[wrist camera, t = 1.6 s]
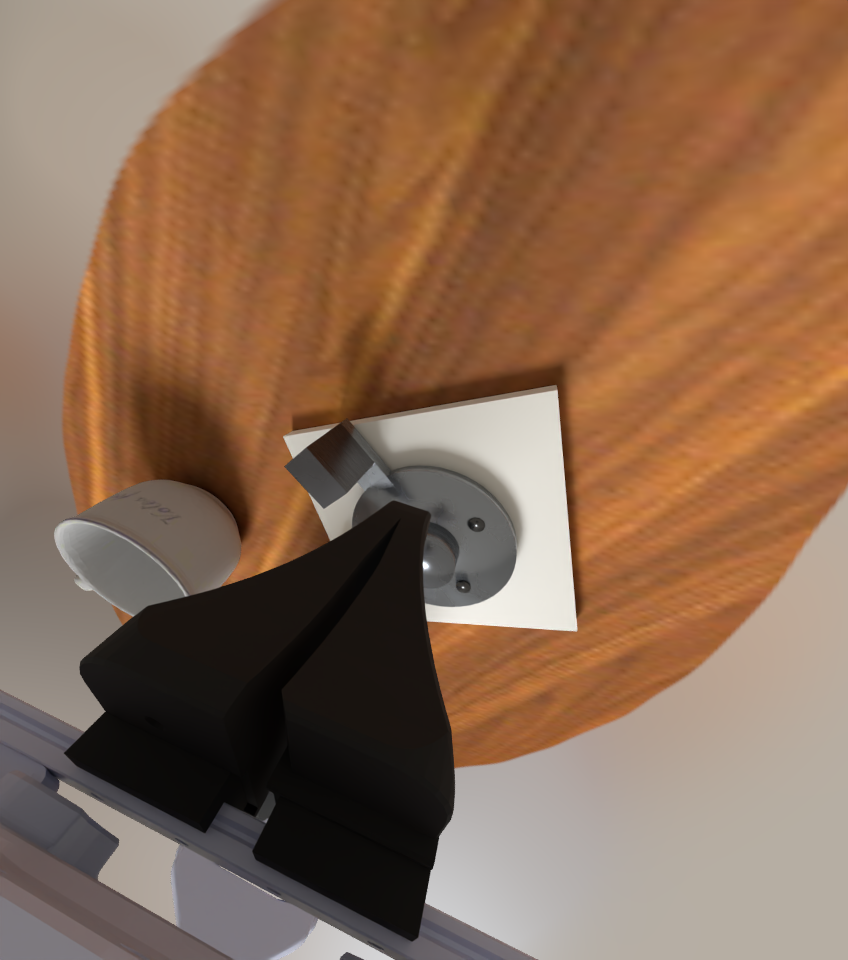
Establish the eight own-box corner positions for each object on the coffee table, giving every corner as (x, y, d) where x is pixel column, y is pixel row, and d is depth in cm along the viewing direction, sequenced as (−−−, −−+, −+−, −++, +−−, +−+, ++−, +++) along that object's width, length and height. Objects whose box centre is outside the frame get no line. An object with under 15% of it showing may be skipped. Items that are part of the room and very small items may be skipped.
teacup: (226, 460, 27) (123, 519, 20) (279, 566, 32) (210, 642, 25) (114, 470, 32) (1, 520, 25) (175, 560, 36) (94, 623, 30)
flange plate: (551, 570, 21) (554, 627, 18) (422, 613, 27) (404, 664, 23) (400, 372, 18) (366, 394, 14) (288, 468, 24) (243, 502, 20)
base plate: (576, 619, 25) (581, 672, 21) (369, 607, 31) (349, 647, 27) (556, 384, 17) (560, 409, 14) (292, 431, 24) (251, 455, 20)
